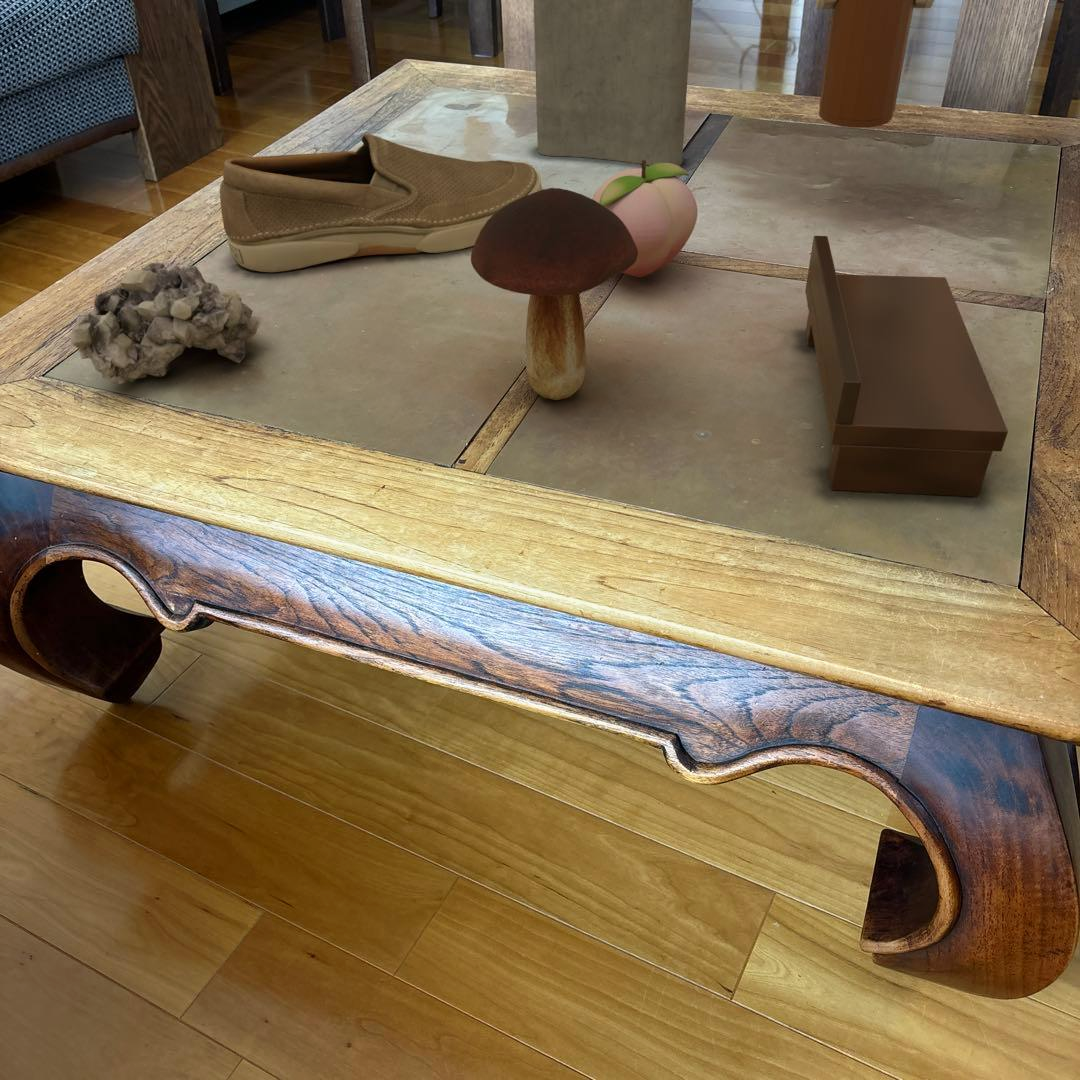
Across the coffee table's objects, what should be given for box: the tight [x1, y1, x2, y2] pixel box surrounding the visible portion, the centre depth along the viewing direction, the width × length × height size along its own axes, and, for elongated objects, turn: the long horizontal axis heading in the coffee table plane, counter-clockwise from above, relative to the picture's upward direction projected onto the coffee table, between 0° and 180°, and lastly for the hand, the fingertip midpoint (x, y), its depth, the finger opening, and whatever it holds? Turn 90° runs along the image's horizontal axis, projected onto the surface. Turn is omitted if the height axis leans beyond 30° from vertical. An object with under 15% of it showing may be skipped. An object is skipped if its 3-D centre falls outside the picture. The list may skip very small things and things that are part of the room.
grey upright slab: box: [533, 0, 693, 167], centre depth 103 cm, size 16×4×20 cm, turn 70°
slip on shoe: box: [219, 133, 543, 273], centre depth 93 cm, size 30×11×9 cm, turn 106°
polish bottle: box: [818, 0, 915, 129], centre depth 84 cm, size 6×6×16 cm
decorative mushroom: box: [470, 187, 638, 401], centre depth 69 cm, size 11×11×15 cm
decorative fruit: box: [591, 160, 698, 278], centre depth 85 cm, size 9×8×10 cm
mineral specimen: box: [69, 261, 263, 385], centre depth 76 cm, size 12×9×10 cm
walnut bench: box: [804, 235, 1009, 498], centre depth 69 cm, size 10×20×8 cm, turn 174°
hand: (875, 4), depth 82 cm, fingers closed on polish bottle, 6 cm apart
